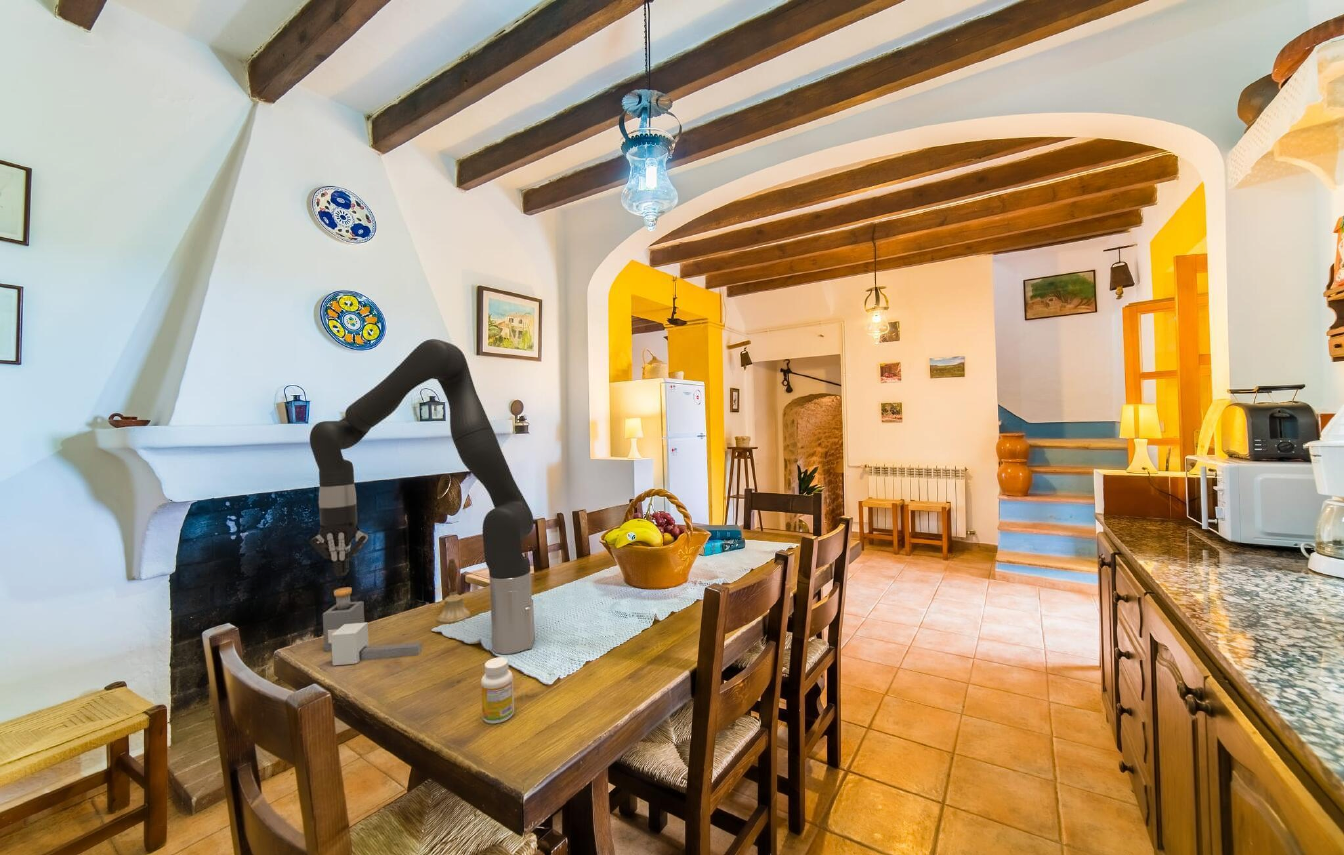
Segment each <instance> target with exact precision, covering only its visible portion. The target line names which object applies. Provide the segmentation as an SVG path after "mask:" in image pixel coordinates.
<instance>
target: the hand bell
mask: <svg viewBox="0 0 1344 855" xmlns="http://www.w3.org/2000/svg"><path fill="white" fill-rule="evenodd" d="M446 575H447V578H448V581H449V595H448V596H446V597H445V598H444V604H443V608H442V611H441V613H440V614H439V615H438V616H437V622H439V623H443V624H451V623H452V624H453V623H457V622H461V621H465V620H466V619H468V618H470V616H471V612H470V610H468V609H467V608H466V606H465V604H464V599H463V596H462V595H460V594H458V592H457V589H458V588H457V577H458V566H457V563H456V560H455V558H449V559H448V564H447V567H446Z"/></svg>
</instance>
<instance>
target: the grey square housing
mask: <svg viewBox="0 0 1344 855" xmlns="http://www.w3.org/2000/svg"><path fill="white" fill-rule="evenodd" d="M364 604H365V603H364V601H363V600H361V601H350V606H351V608H350V609H349V610H338V611H337V603H336V604H334V605H333V606H331V607H330V608H329V609H328V610H326V611H325V612H323V613H322V625H323V628H322V629H323V643H324V644H323V645H324V647H323V648H324V653H326V652H332V642H331V635H332V634H333V633H334V632H336V631H337V630H338V629H339V628H341V627H342V626H343V625H344V624H354V623H366V622H365V605H364Z"/></svg>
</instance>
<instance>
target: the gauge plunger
mask: <svg viewBox="0 0 1344 855" xmlns="http://www.w3.org/2000/svg"><path fill="white" fill-rule="evenodd" d="M352 592H353V590H352V587H351V586H350V587H349V586H347V587H340V588H337V589H334V590H333V595H334V597H336V599H335V600H336V604H337V611H338V610H349V609H350V608H351V606H350V602H351V594H352Z"/></svg>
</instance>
